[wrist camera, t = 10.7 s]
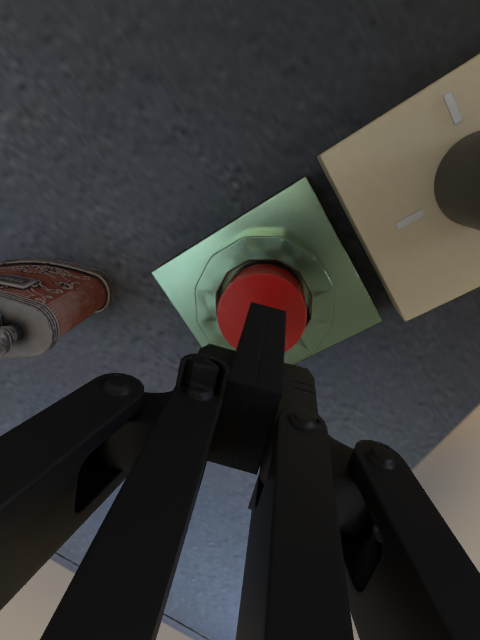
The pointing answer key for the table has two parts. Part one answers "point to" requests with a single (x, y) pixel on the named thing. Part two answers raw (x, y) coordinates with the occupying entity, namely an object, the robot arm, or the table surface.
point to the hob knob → (460, 182)
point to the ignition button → (262, 301)
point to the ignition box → (280, 250)
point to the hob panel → (411, 193)
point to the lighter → (46, 302)
